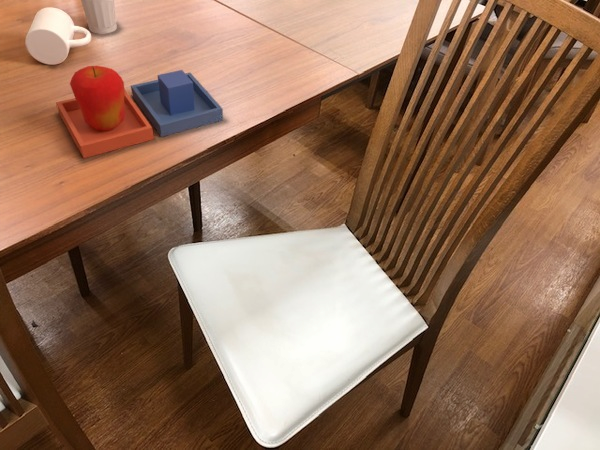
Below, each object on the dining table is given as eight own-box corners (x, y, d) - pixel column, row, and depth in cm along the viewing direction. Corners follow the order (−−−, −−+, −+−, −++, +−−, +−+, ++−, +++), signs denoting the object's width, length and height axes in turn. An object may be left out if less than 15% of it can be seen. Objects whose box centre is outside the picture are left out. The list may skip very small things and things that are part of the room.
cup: (91, 18, 122) (80, -35, 113) (124, 21, 122) (116, -31, 114) (80, 33, 117) (67, -21, 108) (114, 37, 117) (105, -17, 108)
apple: (139, 119, 95) (130, 61, 87) (111, 143, 90) (98, 83, 81) (100, 105, 97) (88, 48, 88) (70, 128, 91) (54, 69, 83)
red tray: (59, 114, 95) (56, 102, 93) (125, 98, 100) (123, 87, 98) (83, 158, 87) (80, 146, 85) (154, 139, 92) (152, 127, 91)
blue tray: (132, 97, 101) (130, 85, 99) (190, 83, 106) (190, 72, 105) (161, 137, 93) (159, 125, 91) (222, 120, 99) (222, 108, 97)
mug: (31, 65, 105) (19, 28, 100) (40, 42, 112) (30, 6, 106) (92, 65, 108) (84, 29, 102) (97, 43, 114) (90, 7, 108)
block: (160, 102, 100) (157, 75, 95) (184, 96, 102) (182, 69, 97) (170, 115, 97) (167, 88, 93) (194, 109, 99) (193, 82, 95)
